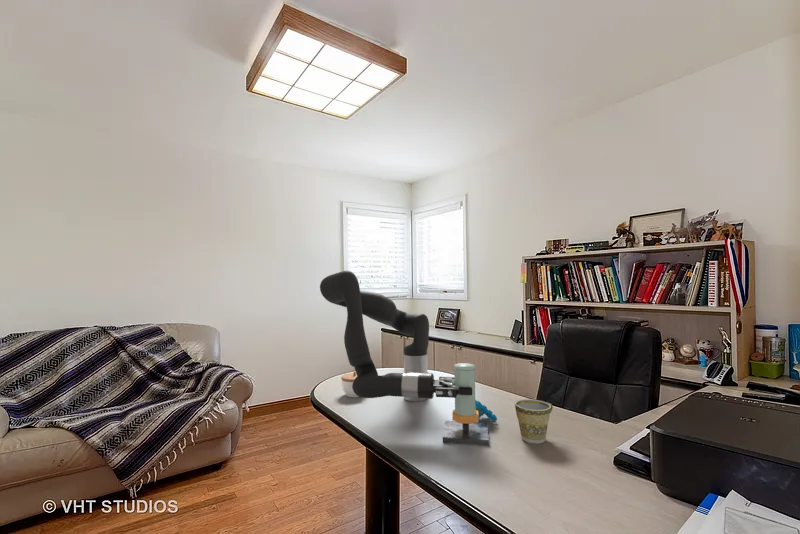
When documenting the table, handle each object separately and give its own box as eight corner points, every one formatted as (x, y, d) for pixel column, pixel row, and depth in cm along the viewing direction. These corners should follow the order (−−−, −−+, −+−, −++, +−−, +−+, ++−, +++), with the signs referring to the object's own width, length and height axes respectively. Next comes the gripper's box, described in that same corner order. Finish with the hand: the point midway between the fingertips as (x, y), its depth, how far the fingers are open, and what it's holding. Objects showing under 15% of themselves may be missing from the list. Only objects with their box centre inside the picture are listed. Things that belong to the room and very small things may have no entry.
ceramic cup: (533, 449, 107) (533, 412, 107) (508, 436, 116) (507, 402, 116) (566, 439, 113) (565, 404, 113) (539, 428, 122) (539, 395, 122)
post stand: (445, 425, 125) (444, 368, 125) (486, 427, 122) (486, 370, 123) (442, 442, 112) (441, 379, 112) (489, 445, 110) (488, 380, 110)
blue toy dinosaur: (503, 420, 124) (481, 399, 124) (492, 435, 122) (470, 414, 122) (487, 413, 135) (467, 394, 134) (477, 427, 133) (456, 408, 132)
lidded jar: (371, 391, 162) (371, 369, 163) (363, 399, 152) (363, 375, 152) (346, 390, 165) (346, 368, 165) (337, 398, 154) (337, 374, 154)
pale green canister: (455, 408, 121) (454, 362, 121) (475, 409, 120) (474, 363, 120) (454, 415, 115) (454, 367, 115) (475, 416, 114) (474, 368, 114)
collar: (453, 413, 122) (453, 407, 122) (478, 415, 120) (478, 408, 120) (452, 422, 114) (452, 415, 114) (478, 424, 113) (478, 417, 113)
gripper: (414, 379, 113) (472, 381, 110) (420, 367, 127) (471, 369, 124) (414, 405, 113) (472, 408, 110) (420, 391, 127) (472, 393, 124)
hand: (472, 387), depth 117 cm, fingers open, 7 cm apart
